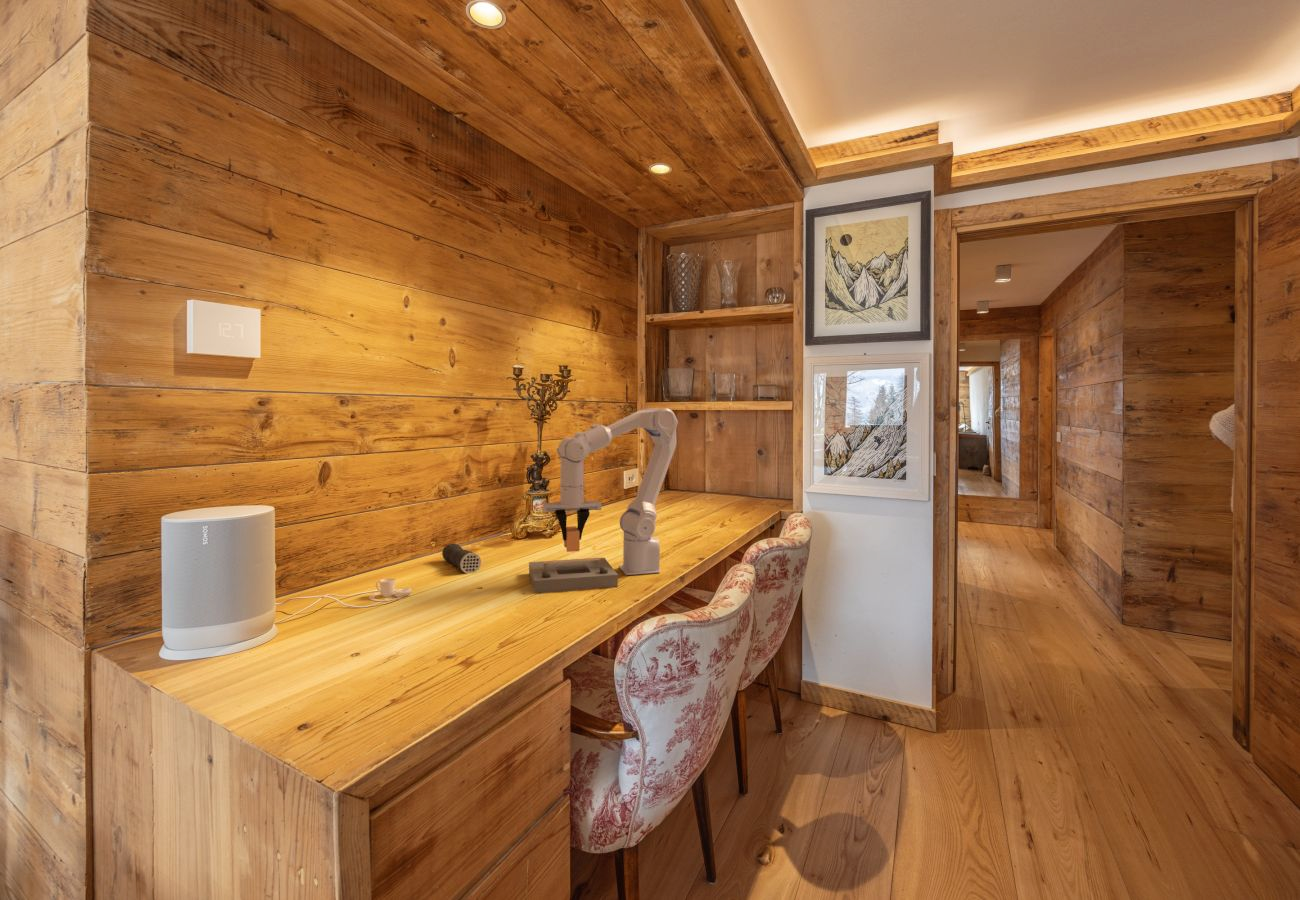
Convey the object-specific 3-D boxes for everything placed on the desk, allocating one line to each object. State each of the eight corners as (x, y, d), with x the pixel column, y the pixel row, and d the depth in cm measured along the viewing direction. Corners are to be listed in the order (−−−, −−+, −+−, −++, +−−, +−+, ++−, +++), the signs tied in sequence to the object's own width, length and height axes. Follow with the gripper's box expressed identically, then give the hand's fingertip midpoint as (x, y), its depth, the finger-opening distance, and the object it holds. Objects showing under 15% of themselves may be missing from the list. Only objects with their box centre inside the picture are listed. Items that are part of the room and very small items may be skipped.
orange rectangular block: (575, 545, 146) (575, 526, 146) (579, 551, 141) (579, 531, 140) (564, 545, 146) (564, 526, 145) (567, 551, 140) (567, 531, 139)
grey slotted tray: (604, 568, 154) (604, 550, 153) (617, 586, 138) (617, 566, 138) (529, 573, 148) (529, 554, 148) (534, 593, 133) (534, 572, 132)
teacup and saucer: (417, 595, 132) (417, 578, 131) (388, 606, 124) (388, 588, 124) (390, 589, 135) (390, 572, 135) (360, 599, 128) (360, 582, 128)
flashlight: (440, 562, 158) (440, 543, 158) (459, 559, 161) (459, 540, 161) (460, 575, 146) (460, 554, 146) (481, 571, 150) (480, 551, 149)
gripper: (597, 482, 147) (597, 534, 148) (541, 484, 143) (541, 537, 144) (603, 486, 141) (602, 540, 142) (543, 488, 137) (543, 543, 138)
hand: (571, 539), depth 143 cm, fingers closed on orange rectangular block, 3 cm apart
